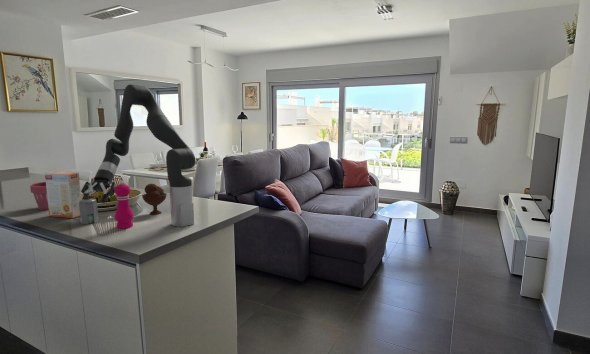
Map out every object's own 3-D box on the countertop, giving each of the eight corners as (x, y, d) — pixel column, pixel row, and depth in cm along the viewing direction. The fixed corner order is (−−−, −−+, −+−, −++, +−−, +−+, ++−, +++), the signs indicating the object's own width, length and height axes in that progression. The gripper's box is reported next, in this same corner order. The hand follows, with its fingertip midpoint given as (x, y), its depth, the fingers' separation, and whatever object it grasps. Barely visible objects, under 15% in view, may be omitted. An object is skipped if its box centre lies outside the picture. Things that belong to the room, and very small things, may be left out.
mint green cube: (96, 222, 152) (95, 213, 152) (86, 224, 149) (85, 215, 149) (92, 220, 155) (92, 211, 154) (83, 222, 152) (82, 213, 151)
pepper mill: (129, 223, 151) (126, 178, 148) (137, 226, 147) (134, 180, 144) (112, 226, 146) (108, 180, 143) (120, 230, 141) (116, 182, 138)
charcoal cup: (100, 220, 155) (99, 198, 154) (92, 224, 149) (90, 202, 147) (87, 219, 155) (85, 198, 154) (77, 224, 149) (75, 201, 147)
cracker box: (83, 215, 163) (79, 172, 159) (72, 218, 157) (67, 174, 154) (60, 213, 166) (56, 170, 163) (48, 216, 161) (44, 172, 157)
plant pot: (62, 209, 173) (59, 185, 171) (28, 212, 167) (25, 186, 165) (69, 203, 186) (66, 180, 184) (38, 205, 181) (35, 181, 179)
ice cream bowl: (159, 217, 161) (157, 185, 159) (138, 215, 163) (136, 184, 161) (171, 211, 171) (170, 182, 169) (151, 210, 174) (150, 181, 171)
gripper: (87, 168, 161) (73, 197, 152) (117, 168, 161) (104, 197, 151) (95, 177, 167) (82, 206, 158) (123, 178, 167) (112, 206, 157)
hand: (93, 202), depth 155 cm, fingers open, 8 cm apart
